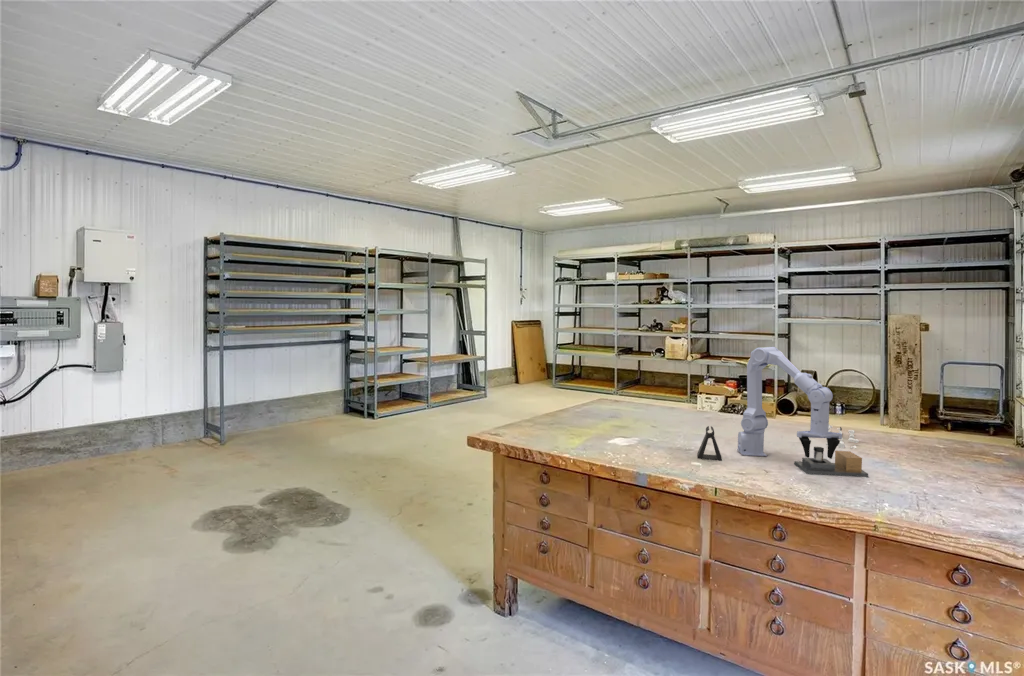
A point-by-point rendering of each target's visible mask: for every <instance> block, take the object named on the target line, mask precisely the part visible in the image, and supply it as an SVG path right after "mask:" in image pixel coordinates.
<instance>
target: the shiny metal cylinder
mask: <svg viewBox="0 0 1024 676" xmlns="http://www.w3.org/2000/svg"><path fill="white" fill-rule="evenodd" d="M824 450H825V448H824V447H822V446H813V458H814V463H823V459H824V452H825V451H824Z"/></svg>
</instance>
